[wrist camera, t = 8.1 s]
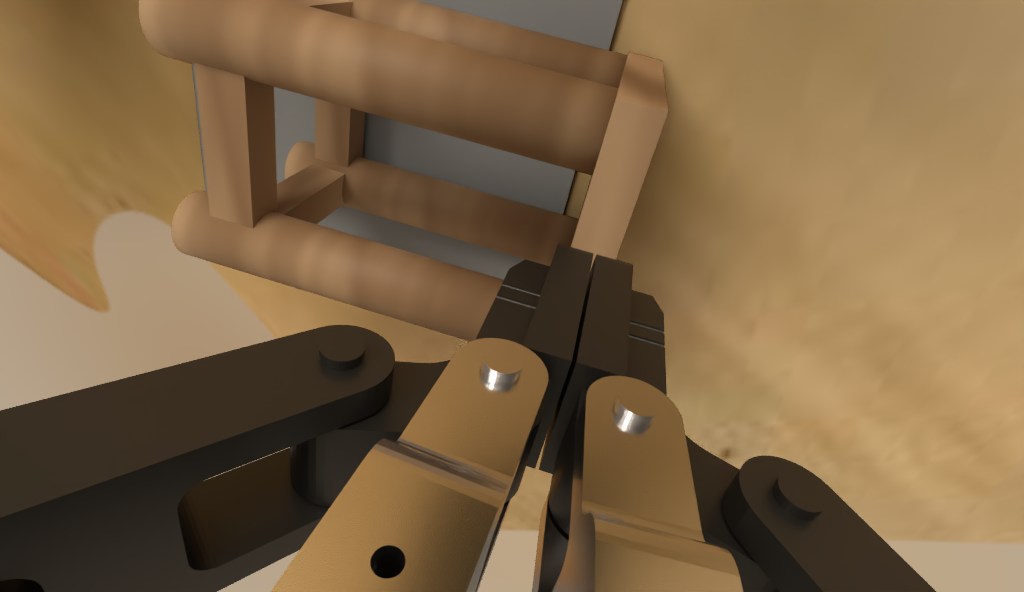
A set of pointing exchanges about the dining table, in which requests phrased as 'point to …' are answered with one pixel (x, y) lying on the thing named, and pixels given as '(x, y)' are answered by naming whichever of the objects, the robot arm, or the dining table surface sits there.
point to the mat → (454, 141)
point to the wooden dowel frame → (412, 100)
